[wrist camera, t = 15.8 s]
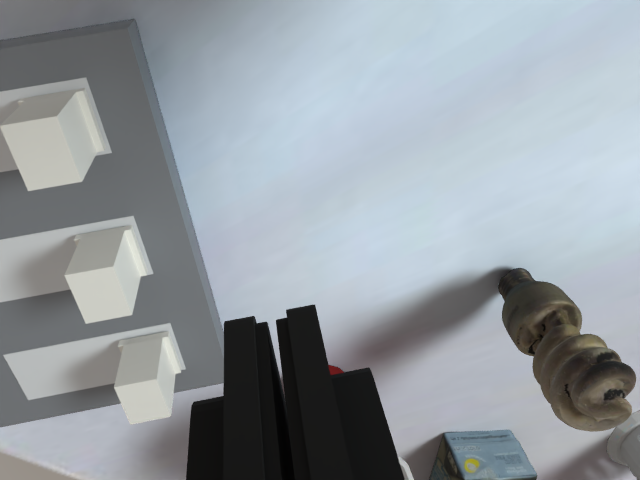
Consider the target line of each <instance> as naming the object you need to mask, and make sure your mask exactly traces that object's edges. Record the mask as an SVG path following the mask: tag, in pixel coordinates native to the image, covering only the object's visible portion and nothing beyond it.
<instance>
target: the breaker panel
mask: <svg viewBox="0 0 640 480" xmlns="http://www.w3.org/2000/svg"><path fill="white" fill-rule="evenodd" d="M82 88H86V91H87V94H88V97H89V100H90V103H91V106H92V108H93V111H94V114H95V117H96V120H97V123H98V126H99V129H100V132H101V134H102V137H103V140H104V143H105V146H106V148H105V150H104V151H101V152H97V154H96V156H95V158H94V159H93V161H92V163H91V165H90V167H89V169H88V171H87V173H86V175H85V177H84V179H83V181H82V182H78V183H72V184H66V185H61V186H55V187H49V188H44V189H38V190H32V191H28V190H27V187H26V185H25V183H24V180H23V178H22V176H21V174H20V171H19V169H18V167H17V165H16V162H15V160H14V158H13V156H12V153H11V151H10V149H9V146H8V144H7V142H6V140H5V137H4V135H3V133H2V131H1V128H0V427H4V426H9V425H14V424H20V423H25V422H30V421H35V420H40V419H45V418H50V417H55V416H60V415H65V414H70V413H75V412H80V411H85V410H90V409H95V408H100V407H105V406H110V405H115V404H120V403H121V402H120V400H119V398H118V395H117V393H116V391H115V389H114V385H115V381H116V376H117V372H118V368H119V363H120V359H121V355H122V354H121V352H120V350H119V347H118V344H119V341H120V340H126V339H131V338H136V337H141V336H146V335H152V334H157V333H162V332H167V331H169V333H170V336H171V339H172V342H173V344H174V347H175V350H176V353H177V356H178V359H179V362H180V365H181V373H177V374H176V375H175V385H174V393H176V392H181V391H186V390H191V389H196V388H201V387H206V386H211V385H216V384H221V383H224V333H223V329H222V325H221V322H220V318H219V315H218V311H217V308H216V304H215V301H214V297H213V294H212V290H211V287H210V283H209V279H208V276H207V272H206V269H205V265H204V262H203V258H202V255H201V251H200V248H199V244H198V241H197V237H196V233H195V230H194V226H193V223H192V219H191V216H190V212H189V209H188V205H187V202H186V198H185V195H184V191H183V187H182V184H181V180H180V177H179V173H178V170H177V166H176V163H175V159H174V156H173V152H172V149H171V145H170V142H169V138H168V134H167V131H166V127H165V124H164V120H163V117H162V113H161V110H160V106H159V103H158V99H157V96H156V92H155V88H154V85H153V81H152V78H151V74H150V71H149V67H148V64H147V60H146V57H145V53H144V50H143V46H142V42H141V39H140V35H139V32H138V28H137V25H136V21H135V19H131V20H125V21H119V22H113V23H106V24H100V25H94V26H88V27H82V28H75V29H69V30H63V31H57V32H51V33H44V34H38V35H32V36H26V37H20V38H13V39H7V40H1V41H0V125H1V124H2V123H3V122H4V121H5V120H6V119H7V118H8V117H9V116H10V115H11V114H12V113H13V112H14V111H15V110H16V109H17V108H18V107H19V104H18V101H19V100H20V99H22V98H28V97H34V96H40V95H46V94H52V93H58V92H64V91H70V90H76V89H82ZM129 225H132V226H133V229H134V232H135V235H136V238H137V241H138V244H139V247H140V249H141V252H142V255H143V258H144V261H145V264H146V267H147V270H148V272H147V276H141V278H140V283H139V287H138V291H137V296H136V300H135V305H134V309H133V314H132V315H130V316H125V317H119V318H114V319H109V320H104V321H98V322H93V323H88V324H86V323H85V321H84V319H83V316H82V314H81V312H80V310H79V307H78V305H77V303H76V300H75V298H74V296H73V294H72V291H71V289H70V287H69V285H68V282H67V280H66V278H65V276H64V275H65V273H66V271H67V268H68V266H69V264H70V261H71V259H72V257H73V254H74V252H75V250H76V247H77V246H76V244H75V241H74V239H75V236H76V235H80V234H85V233H91V232H96V231H102V230H107V229H113V228H118V227H124V226H129Z"/></svg>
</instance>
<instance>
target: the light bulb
mask: <svg viewBox="0 0 640 480" xmlns="http://www.w3.org/2000/svg"><path fill="white" fill-rule="evenodd" d="M498 289H499V292H500V294H501V295H502V297H503V299H504V301H505V303H504V305H503V310H502V320H503V323H504V326H505V328H506V330H507V332H508V334H509V335H510V337H511V339H512V340H513V342H514V343H515V345H516V346H517V348H518V349H519V350H520V351H521V352H522V353H524V354H527V355H530V356H534V358H533V373H534V376H535V378H536V380H537V382H538V383H539V384H540V385H541V390H542V392H543V394H544V397H545V398H546V399H547V401H548V402H549V403H550V404H551V407H552V409H553V411H554V413H555V415H556V416H557V417H558V418H559V419H560V420H561V421H563V422H564V423H565V424H567V425H569V426H571V427H573V428H575V429H579V430H585V431H604V430H608V429H611V428H614V427H616V426H618V425H620V424H622V423H624V422H625V421H626V420H627V419H628V418H629V417H630V415H631V413H632V407H631V404H630V403H629V402H628V401H627V400H626V399H624V398H625V397H626V396H627V395H628V394H629V393H630V392H631V391H632V390H633V388H634V386H635V383H636V375H635V373H634V371H633V369H632V368H631V367H630V366H628V365H626V364H624V363H622V362H621V359H620V357H619V355H618V354H617V353H616V352H615V351H613V350H611V349H608V348H607V346H606V343H605V342H604V341H603V340H602V339H601V338H600V337H598V336H596V335H592V334H583V335H581V334H580V332H579V331H580V329H581V325H582V315H581V312H580V310H579V308H578V307H577V306H576V305H575V303H574V302H573V301H572V300H571V299H570V298H569V297H568V296H567V295H566V294H565V293H564V292H563V291H562V290H561V289H560V288H559V287H557V286H555V285H553V284H551V283H548V282H540V281H535V280H534V279H533V278H532V276H531V275H530V273H529V272H528V271H527V270H526V269H522V268H516V269H513V270H511V271H510V272H509V273H508V274H507V275H506V276H505V277H503V278H501V280H500V282H499V285H498Z"/></svg>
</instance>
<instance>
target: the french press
mask: <svg viewBox="0 0 640 480" xmlns="http://www.w3.org/2000/svg"><path fill="white" fill-rule="evenodd" d="M606 451H607V453H608V455H609V457H610V458H611V460H613V461H615V462H617V463H619V464H621V465H625V466H628V467H629V468H630V471H631V472H632V474H633V475H634V476H635V477H636V478H637V480H640V411H638V412H636V413H634V414H632V415H630V417H629V418H628V419H627V420H626V421H625V422H624V423H622V424H620V425H618V426H617V427H616V428H615V430H614V431H613V433H612V434H611V436H610V437H609V439H608V444H607V450H606Z"/></svg>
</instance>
